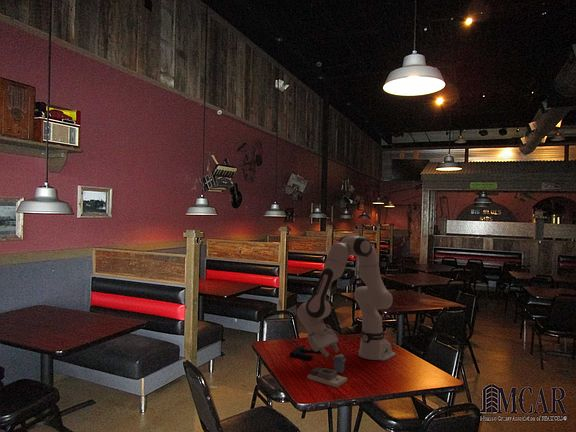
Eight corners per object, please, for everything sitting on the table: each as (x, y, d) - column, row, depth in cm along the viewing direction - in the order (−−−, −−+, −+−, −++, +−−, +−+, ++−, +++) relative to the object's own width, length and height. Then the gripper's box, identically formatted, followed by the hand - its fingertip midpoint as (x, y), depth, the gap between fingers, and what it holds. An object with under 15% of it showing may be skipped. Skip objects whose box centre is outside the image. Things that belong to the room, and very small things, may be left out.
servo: (332, 370, 204) (332, 353, 205) (335, 369, 207) (335, 352, 207) (342, 373, 201) (343, 356, 201) (345, 371, 203) (346, 355, 204)
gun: (325, 351, 240) (301, 348, 245) (325, 347, 240) (301, 343, 245) (312, 362, 217) (287, 358, 223) (313, 357, 218) (287, 352, 223)
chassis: (307, 378, 193) (307, 370, 193) (318, 372, 201) (318, 364, 201) (336, 387, 183) (336, 378, 183) (347, 381, 191) (347, 372, 191)
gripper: (309, 331, 203) (325, 355, 197) (330, 324, 219) (346, 346, 213) (302, 338, 206) (317, 362, 200) (323, 331, 222) (338, 353, 216)
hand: (332, 354), depth 206 cm, fingers open, 8 cm apart
